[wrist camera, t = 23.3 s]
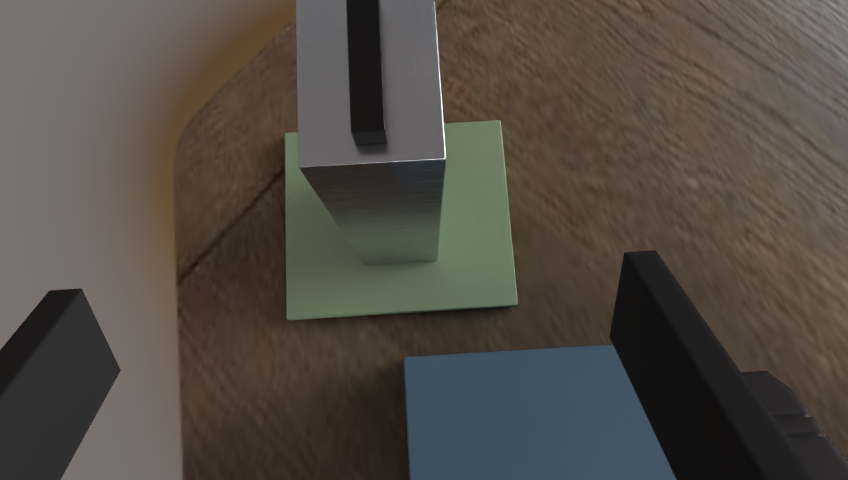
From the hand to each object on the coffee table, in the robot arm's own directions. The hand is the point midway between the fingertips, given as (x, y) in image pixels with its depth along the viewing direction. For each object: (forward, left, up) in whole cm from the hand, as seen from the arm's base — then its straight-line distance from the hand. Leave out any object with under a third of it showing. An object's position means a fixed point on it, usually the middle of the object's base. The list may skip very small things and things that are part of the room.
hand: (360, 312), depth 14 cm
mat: (0, +8, -21) cm, 22 cm away
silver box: (0, +8, -20) cm, 21 cm away
